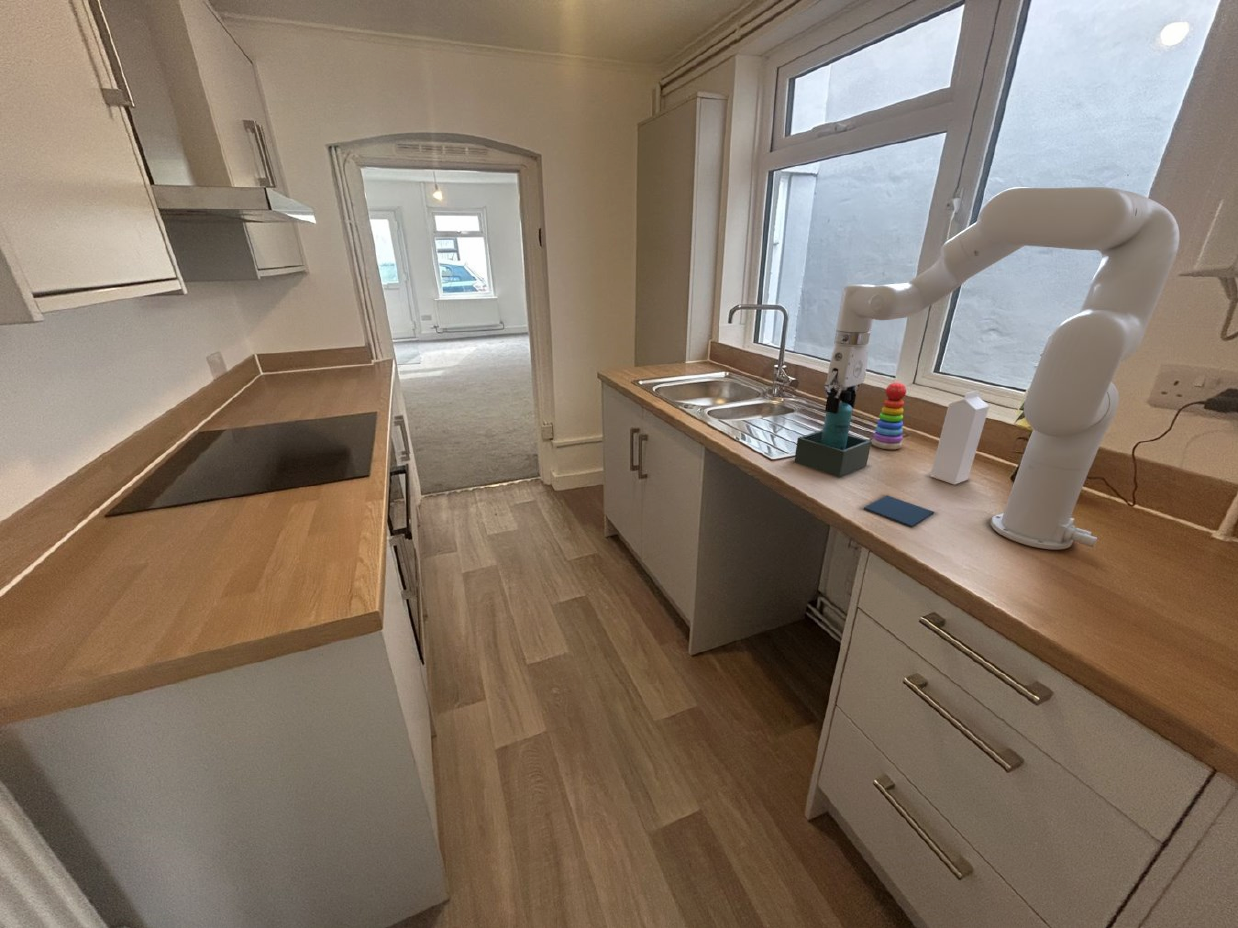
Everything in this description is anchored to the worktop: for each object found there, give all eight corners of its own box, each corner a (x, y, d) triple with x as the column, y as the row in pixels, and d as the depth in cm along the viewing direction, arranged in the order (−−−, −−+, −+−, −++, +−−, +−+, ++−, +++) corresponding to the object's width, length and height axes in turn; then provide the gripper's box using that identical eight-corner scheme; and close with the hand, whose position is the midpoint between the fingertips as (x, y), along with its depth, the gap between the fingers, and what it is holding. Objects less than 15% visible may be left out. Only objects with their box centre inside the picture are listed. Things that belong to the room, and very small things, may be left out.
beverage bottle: (811, 461, 131) (822, 388, 123) (831, 458, 133) (844, 386, 125) (827, 469, 125) (840, 394, 118) (848, 466, 127) (863, 392, 119)
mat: (933, 513, 103) (934, 511, 103) (911, 527, 97) (912, 525, 97) (886, 496, 110) (886, 495, 110) (863, 509, 105) (864, 507, 105)
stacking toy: (894, 441, 145) (907, 380, 138) (906, 451, 138) (921, 386, 131) (866, 441, 146) (879, 379, 139) (877, 450, 138) (890, 386, 131)
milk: (929, 476, 121) (951, 390, 113) (943, 471, 124) (965, 387, 116) (955, 485, 116) (979, 395, 108) (968, 479, 119) (993, 392, 111)
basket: (866, 465, 128) (871, 440, 125) (839, 477, 120) (844, 451, 118) (821, 451, 137) (825, 428, 135) (794, 462, 130) (797, 437, 128)
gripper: (847, 343, 109) (834, 419, 116) (885, 337, 118) (871, 407, 125) (817, 340, 115) (806, 412, 121) (856, 334, 124) (844, 401, 131)
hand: (839, 409), depth 123 cm, fingers closed on beverage bottle, 6 cm apart
